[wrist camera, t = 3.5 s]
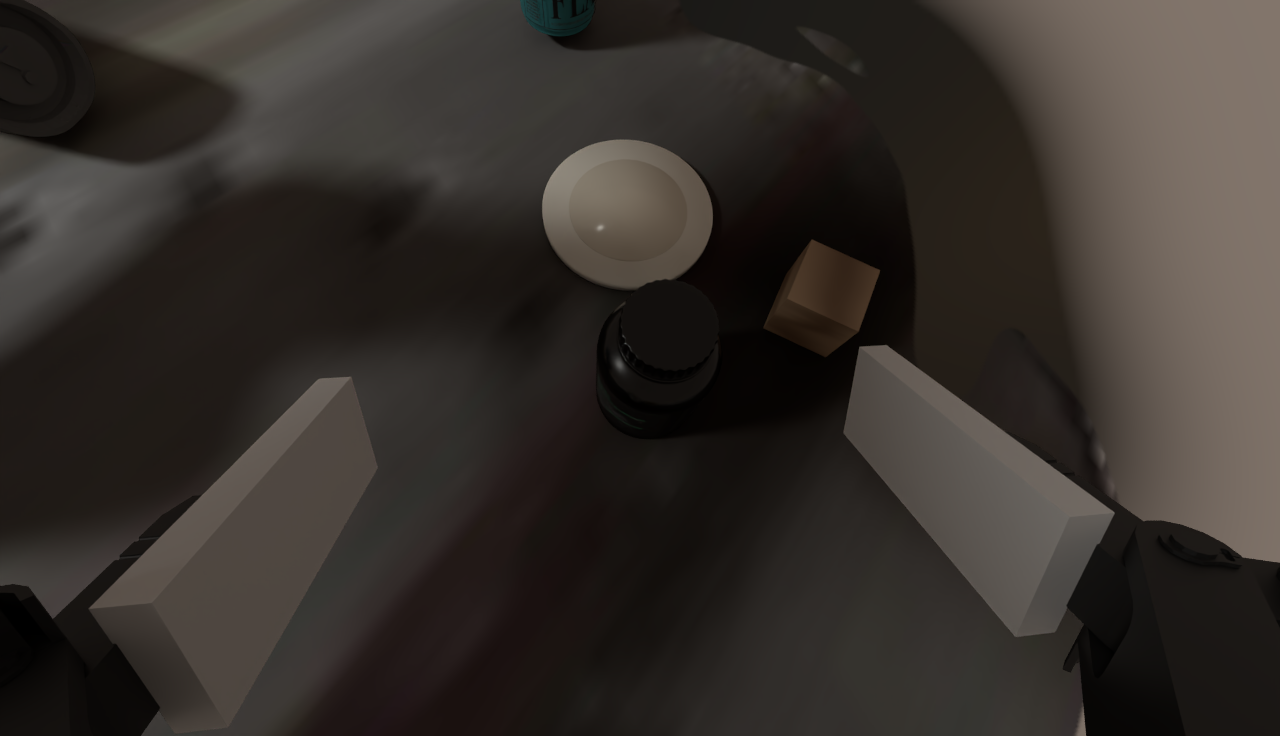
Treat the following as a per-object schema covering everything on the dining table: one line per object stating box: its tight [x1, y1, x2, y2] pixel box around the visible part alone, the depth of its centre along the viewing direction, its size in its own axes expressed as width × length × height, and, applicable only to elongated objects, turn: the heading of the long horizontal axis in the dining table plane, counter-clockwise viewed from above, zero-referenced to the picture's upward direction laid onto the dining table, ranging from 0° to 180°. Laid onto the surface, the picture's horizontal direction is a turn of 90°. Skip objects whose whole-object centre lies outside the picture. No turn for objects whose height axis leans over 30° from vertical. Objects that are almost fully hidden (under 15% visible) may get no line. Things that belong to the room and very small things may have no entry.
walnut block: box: [763, 240, 880, 357], centre depth 36 cm, size 5×5×5 cm
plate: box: [542, 140, 713, 291], centre depth 39 cm, size 13×13×1 cm
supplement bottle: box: [596, 279, 722, 439], centre depth 30 cm, size 7×7×12 cm
